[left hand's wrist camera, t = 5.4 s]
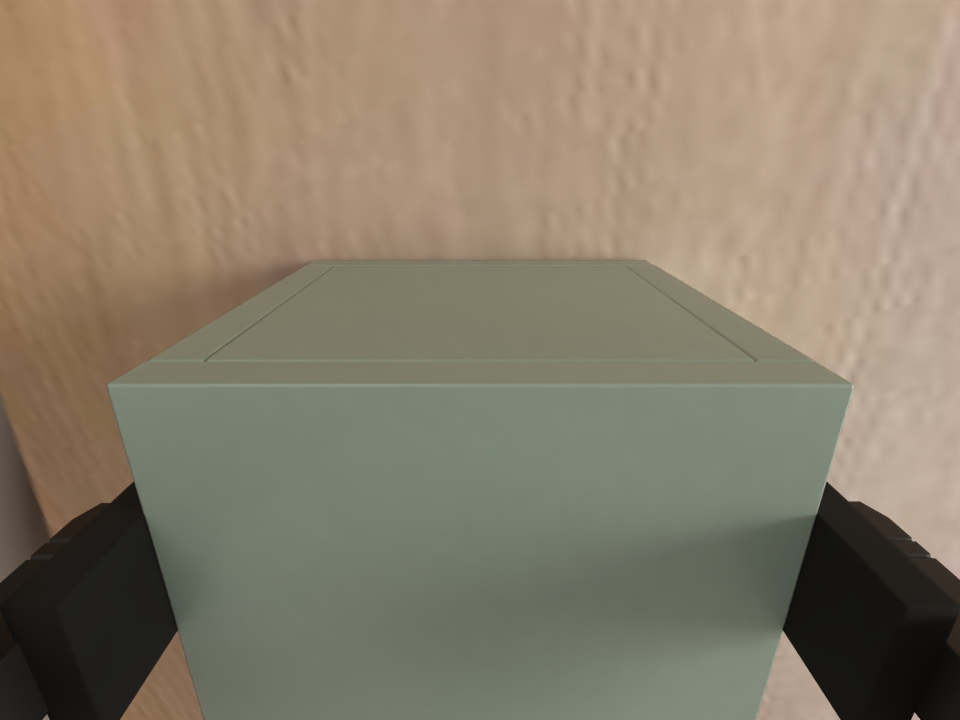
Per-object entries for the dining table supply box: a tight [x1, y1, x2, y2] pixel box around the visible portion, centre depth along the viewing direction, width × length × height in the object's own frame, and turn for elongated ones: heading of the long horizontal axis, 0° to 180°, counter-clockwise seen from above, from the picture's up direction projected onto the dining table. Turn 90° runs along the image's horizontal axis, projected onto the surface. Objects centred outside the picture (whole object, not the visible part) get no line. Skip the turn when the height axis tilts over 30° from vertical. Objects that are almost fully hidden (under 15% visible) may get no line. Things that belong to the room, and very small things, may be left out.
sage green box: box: [107, 260, 854, 720], centre depth 16 cm, size 17×12×10 cm
